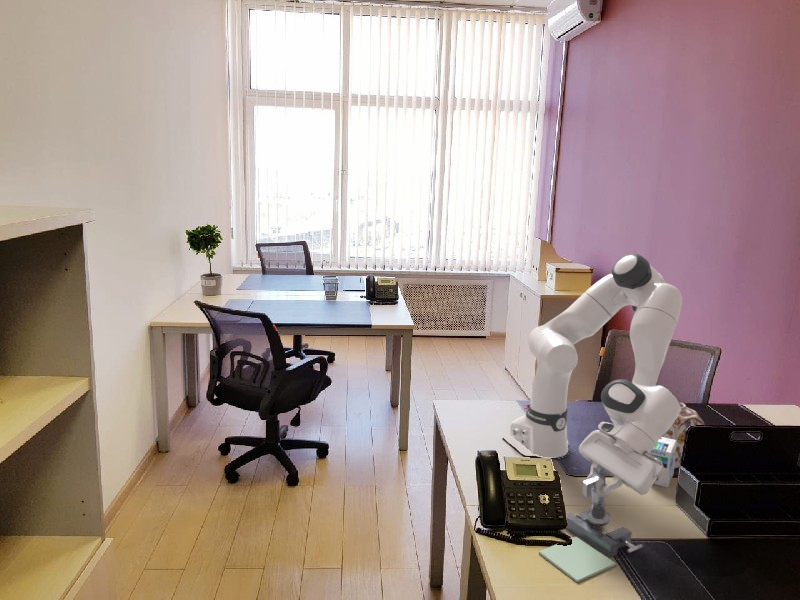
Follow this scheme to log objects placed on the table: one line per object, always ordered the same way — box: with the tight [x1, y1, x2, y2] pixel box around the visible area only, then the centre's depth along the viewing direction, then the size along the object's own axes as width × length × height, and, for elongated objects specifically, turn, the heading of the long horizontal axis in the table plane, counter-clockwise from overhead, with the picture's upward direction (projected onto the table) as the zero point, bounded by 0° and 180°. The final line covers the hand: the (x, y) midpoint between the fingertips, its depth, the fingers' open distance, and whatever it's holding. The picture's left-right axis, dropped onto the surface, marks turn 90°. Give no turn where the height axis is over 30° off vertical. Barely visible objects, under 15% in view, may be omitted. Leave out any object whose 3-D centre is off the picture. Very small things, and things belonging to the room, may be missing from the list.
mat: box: [538, 536, 616, 583], centre depth 142 cm, size 12×12×1 cm
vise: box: [566, 510, 644, 558], centre depth 150 cm, size 17×9×3 cm, turn 30°
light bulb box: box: [649, 437, 677, 488], centre depth 179 cm, size 11×7×11 cm, turn 148°
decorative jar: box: [661, 402, 705, 470], centre depth 190 cm, size 12×12×18 cm
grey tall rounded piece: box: [582, 472, 611, 528], centre depth 149 cm, size 6×7×12 cm
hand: (596, 486), depth 148 cm, fingers closed on grey tall rounded piece, 3 cm apart
